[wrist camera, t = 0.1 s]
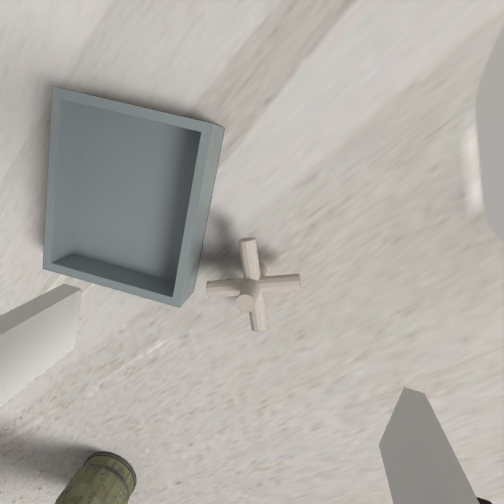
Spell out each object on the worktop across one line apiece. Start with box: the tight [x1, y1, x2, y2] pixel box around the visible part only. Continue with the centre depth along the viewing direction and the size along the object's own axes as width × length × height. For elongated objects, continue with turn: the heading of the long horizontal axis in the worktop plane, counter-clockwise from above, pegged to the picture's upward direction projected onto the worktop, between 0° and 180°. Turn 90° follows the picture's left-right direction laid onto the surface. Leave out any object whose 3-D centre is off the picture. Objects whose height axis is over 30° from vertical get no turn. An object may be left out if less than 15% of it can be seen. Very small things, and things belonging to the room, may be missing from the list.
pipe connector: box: [206, 238, 301, 332], centre depth 37 cm, size 10×10×10 cm
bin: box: [43, 86, 225, 308], centre depth 40 cm, size 20×17×5 cm
